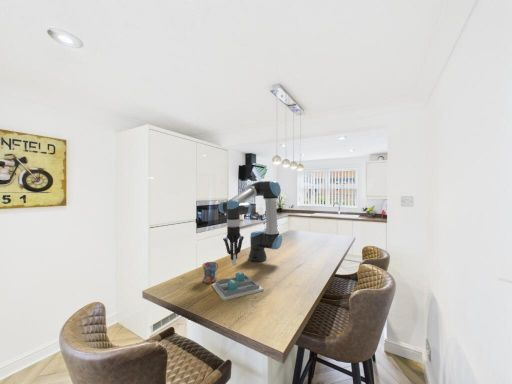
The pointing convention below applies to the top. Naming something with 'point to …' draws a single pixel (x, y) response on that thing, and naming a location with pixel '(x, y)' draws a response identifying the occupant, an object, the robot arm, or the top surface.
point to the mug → (210, 272)
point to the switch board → (242, 288)
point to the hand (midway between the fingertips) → (234, 264)
